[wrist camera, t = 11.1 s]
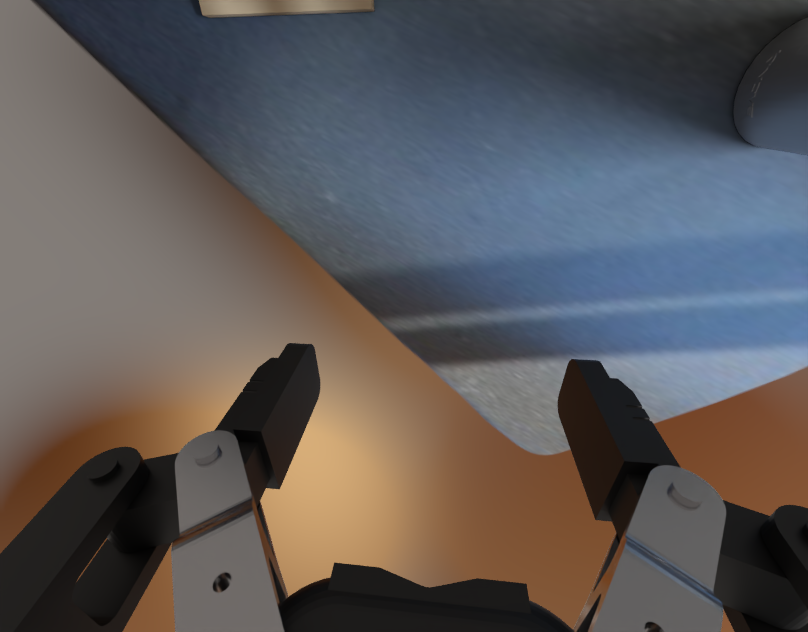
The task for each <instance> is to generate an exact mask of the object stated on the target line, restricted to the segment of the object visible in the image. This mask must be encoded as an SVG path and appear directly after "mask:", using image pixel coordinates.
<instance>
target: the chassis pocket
mask: <svg viewBox="0 0 808 632" xmlns="http://www.w3.org/2000/svg"><path fill="white" fill-rule="evenodd" d="M199 3H200V7H201V11H202V15H203V16H206V17H209V18H214V17H241V16H267V15H294V14H320V13H347V12H373V11H374V0H199Z"/></svg>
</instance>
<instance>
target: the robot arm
mask: <svg viewBox="0 0 808 632" xmlns="http://www.w3.org/2000/svg"><path fill="white" fill-rule="evenodd" d="M733 115H734V122H735V126H736V128H737V130H738V132H739V134H740V135H741V136H742V137H743V138H744V140H745V141H747V142H749V143H750V144H752V145H754V146H757V147H762V148H766V149H772V150H778V151H784V152H790V153H796V154H801V155H807V156H808V17H807V18H805V19H803V20H800V21H798V22H797V23H795V24H793V25H792V26H790V27H789V28H787V29H786V30H784V31H783V32H781V33H780V34H779V35H778V36H777V37H775V38H774V39H773V40H772V41H771V42H770V43H768V44H767V46H766V47H765V48H764V49H763V50H762V51H761V52H760V53H759V54H758V55H757V57H756V58H755V59H754V61H753V62H752V64H751V65H750V67H749V68H748V69H747V71H746V73H745V75H744V77H743V79H742V81H741V83H740V85H739V87H738V90H737V94H736V97H735V100H734V110H733ZM319 393H320V377H319V371H318V365H317V360H316V354H315V349H314V346H313V345H312V344H296V343H289V344H287V345H286V347H285V349H284V350H283V352H282V353H281V355H280V356H279V358H270V359H269V360H268V361H266V362H265V363H264V364H263V365H261V366H260V367H258V369H257V370H256V372H255V373H254V374H253V376H252V377H251V379H250V382H248V383H247V384H246V386H245V387H244V389H243V392H241V393H240V395H239V396H238V397H237V399H236V400H235V402H234V403H233V405H232V406H231V408H230V409H229V410H228V412H227V413H226V415H225V416H224V418H223V419H222V421H221V422H220V424H219V425H218V427H217V428H216V429H215V430H214V431H211V432H207V433H204V434H202V435H199V436H198V437H196V438H194V439H193V440H191V441H190V442H188V443H187V444H186V445H185V446H184V447H183V448H182V450H181V451H180V452H179V453H176V454H172V455H166V456H161V457H156V458H150V459H145V460H143V458H142V457H141V455H140V453H139V452H138V451H137V450H136V449H134V448H131V447H119V448H114V449H111V450H108V451H105V452H103V453H101V454H99V455H97V456H95V457H94V458H92V459H90V460H89V461H87V462H86V463H85V464H83V465H82V466H81V467H80V468H79V469H78V470H77V471H76V472H75V473H74V474H73V475H72V476H71V477H70V479H69V480H68V481H67V482H66V483H65V484H64V485H63V486H62V487H61V488H60V490H59V491H58V492H57V493H56V494H55V495H54V496H53V497H52V498H51V499H50V500H49V501H48V503H47V504H46V505H45V506H44V507H43V508H42V509H41V510H40V511H39V512H38V514H37V515H36V516H35V517H34V518H33V519H32V520H31V521H30V522H29V523H28V524H27V525H26V526H25V528H24V529H23V530H22V531H21V532H20V533H19V534H18V535H17V536H16V537H15V539H14V540H13V541H12V542H11V543H10V544H9V545H8V546H7V547H6V548H5V549H4V550H3V552H2V553H1V554H0V632H122V631H123V630H124V628H125V626H126V624H127V622H128V621H129V619H130V617H131V615H132V614H133V612H134V610H135V608H136V606H137V604H138V603H139V601H140V599H141V597H142V596H143V594H144V592H145V590H146V588H147V587H148V585H149V583H150V581H151V579H152V577H153V576H154V574H155V572H156V570H157V569H158V567H159V565H160V563H161V561H162V560H163V558H164V556H165V554H166V552H167V551H168V549H169V547H170V545H171V543H172V542H173V543H172V550H171V556H172V576H173V595H174V614H175V632H721V626H722V619H723V609H724V611H725V613H726V615H727V617H728V619H729V621H730V623H731V625H732V627H733V629H734V631H735V632H808V508H804V507H801V506H796V505H784V506H781V507H779V508H778V509H777V510H776V511H775V512H774V513H773V514H772V515H771V516H768V515H765V514H762V513H759V512H756V511H753V510H750V509H747V508H744V507H741V506H738V505H735V504H732V503H729V502H727V501H724V500H722V499H721V497H720V495H719V494H718V493H717V492H716V491H715V489H714V488H713V487H711V485H709V484H708V483H707V482H706V481H705V480H703V479H702V478H700V477H699V476H697V475H696V474H693V473H692V472H690V471H688V470H685V469H682V468H681V467H680V466H679V464H678V463H677V461H676V459H675V458H674V456H673V455H672V453H671V451H670V450H669V448H668V447H667V445H666V443H665V442H664V440H663V439H662V437H661V435H660V434H659V432H658V431H657V429H656V427H655V426H654V424H653V423H652V421H650V420H649V416H648V415H647V413H646V412H645V410H644V409H642V405H641V404H640V402H639V400H638V399H637V397H636V396H635V394H634V393H633V391H632V390H630V389H629V388H628V387H627V386H626V385H625V384H623V383H622V382H621V381H620V380H619V379H614V378H609V376H608V374H607V372H606V371H605V369H604V367H603V365H602V364H601V363H600V362H599V361H596V360H578V359H571V360H570V361H569V363H568V366H567V369H566V373H565V376H564V379H563V383H562V386H561V389H560V393H559V397H558V413H559V417H560V420H561V423H562V426H563V429H564V432H565V434H566V437H567V440H568V443H569V446H570V449H571V451H572V454H573V457H574V460H575V463H576V466H577V469H578V471H579V474H580V477H581V480H582V483H583V486H584V488H585V491H586V494H587V497H588V500H589V503H590V506H591V508H592V511H593V514H594V517H595V520H602V521H612V522H613V525H614V527H615V530H616V534H615V536H614V537H613V540H612V542H611V544H610V547H609V549H608V552H607V554H606V557H605V559H604V561H603V564H602V566H601V569H600V571H599V573H598V576H597V578H596V581H595V583H594V586H593V588H592V590H591V593H590V595H589V597H588V600H587V602H586V604H585V606H584V608H583V610H582V612H581V614H580V616H579V618H578V620H577V623H576V625H575V627H574V629H571V628H570V627H569V626H568V625H567V624H566V623H565V622H563V621H562V620H561V619H560V618H558V617H557V616H556V615H554V614H553V613H551V612H550V611H549V610H547V609H545V608H543V607H542V606H540V605H538V604H536V603H534V602H532V601H529V597H528V591H527V584H523V583H513V582H505V581H496V580H486V579H472V580H467V581H462V582H457V583H452V584H447V585H442V586H436V587H431V588H429V587H424V586H421V585H419V584H416V583H414V582H412V581H409V580H407V579H405V578H402V577H400V576H398V575H396V574H393V573H391V572H388V571H386V570H384V569H382V568H377V567H369V566H360V565H351V564H342V563H334V566H333V570H332V574H331V578H326V579H322V580H320V581H317V582H314V583H311V584H309V585H307V586H305V587H303V588H301V589H300V590H298V591H297V592H295V593H293V594H292V595H290V596H289V597H288V594H287V591H286V587H285V584H284V581H283V578H282V575H281V572H280V569H279V565H278V562H277V559H276V555H275V551H274V548H273V544H272V541H271V537H270V534H269V530H268V526H267V523H266V519H265V516H264V512H263V509H262V505H261V502H260V499H261V497H262V495H263V493H264V491H265V489H266V488H272V489H280V487H281V485H282V483H283V480H284V478H285V475H286V473H287V471H288V468H289V466H290V464H291V461H292V459H293V457H294V454H295V452H296V449H297V447H298V445H299V442H300V440H301V438H302V435H303V433H304V431H305V428H306V426H307V424H308V421H309V419H310V417H311V414H312V412H313V409H314V407H315V405H316V402H317V400H318V397H319ZM106 538H108V539H107V540H106V542H105V543H104V545H103V546H102V547H101V549H100V550H99V551H98V553H97V554H96V556H95V557H94V558H93V560H92V561H91V563H90V564H89V566H88V567H87V569H86V570H85V571H84V573H83V574H82V576H81V577H80V578H79V580H78V581H77V579H78V577H79V576H80V574H81V573H82V572H83V570H84V569H85V567H86V566H87V564H88V563H89V562H90V560H91V559H92V557H93V556H94V555H95V553H96V552H97V550H98V549H99V547H100V546H101V545H102V543H103V542H104V540H105V539H106ZM76 581H77V583H76Z"/></svg>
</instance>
